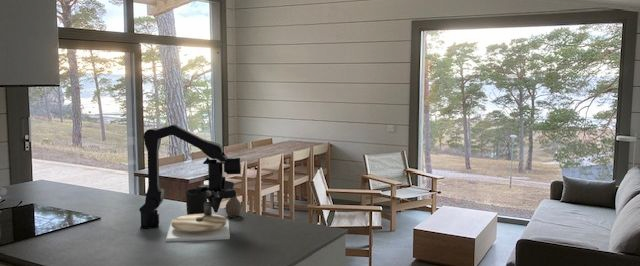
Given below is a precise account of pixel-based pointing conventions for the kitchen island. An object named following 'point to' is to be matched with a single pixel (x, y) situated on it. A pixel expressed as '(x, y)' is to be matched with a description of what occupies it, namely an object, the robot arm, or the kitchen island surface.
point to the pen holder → (195, 201)
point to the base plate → (198, 234)
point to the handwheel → (199, 220)
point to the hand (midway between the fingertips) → (216, 212)
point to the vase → (233, 207)
